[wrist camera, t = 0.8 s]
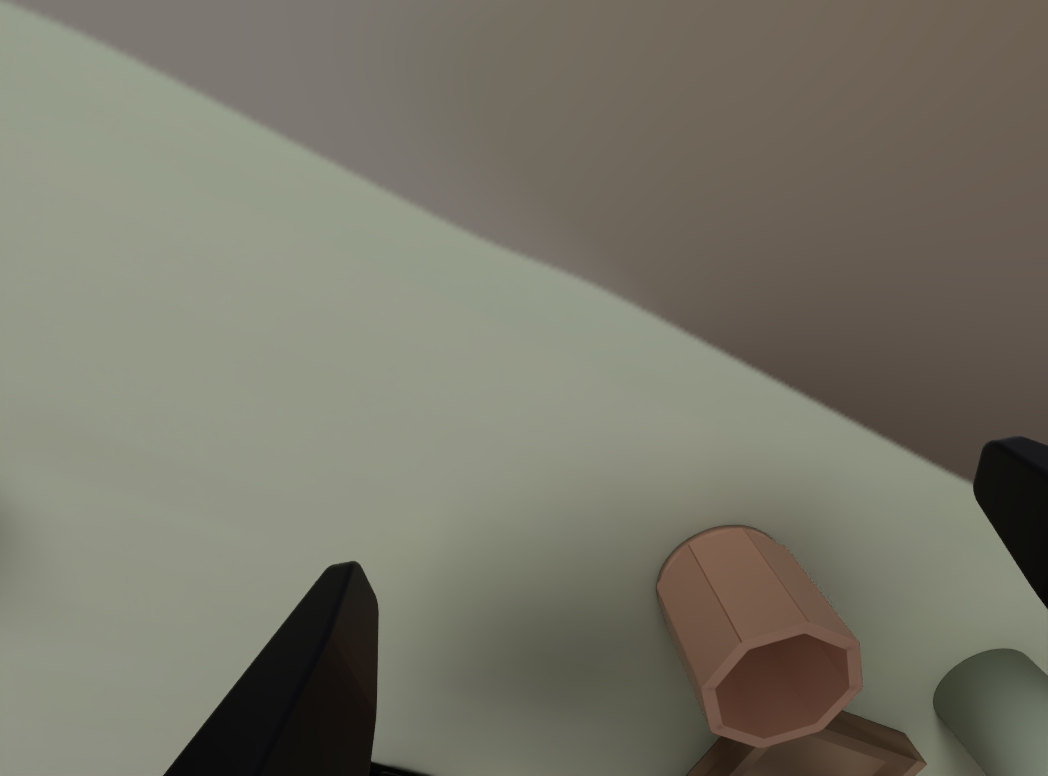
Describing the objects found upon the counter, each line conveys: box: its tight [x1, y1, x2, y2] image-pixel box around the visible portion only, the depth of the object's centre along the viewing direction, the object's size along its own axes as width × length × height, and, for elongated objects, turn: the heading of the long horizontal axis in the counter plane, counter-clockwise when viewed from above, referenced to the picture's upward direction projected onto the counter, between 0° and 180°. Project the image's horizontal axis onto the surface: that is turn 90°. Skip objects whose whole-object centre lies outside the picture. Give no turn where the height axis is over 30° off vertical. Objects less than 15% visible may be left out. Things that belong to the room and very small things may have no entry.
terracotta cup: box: [656, 525, 863, 748], centre depth 26 cm, size 6×6×6 cm
